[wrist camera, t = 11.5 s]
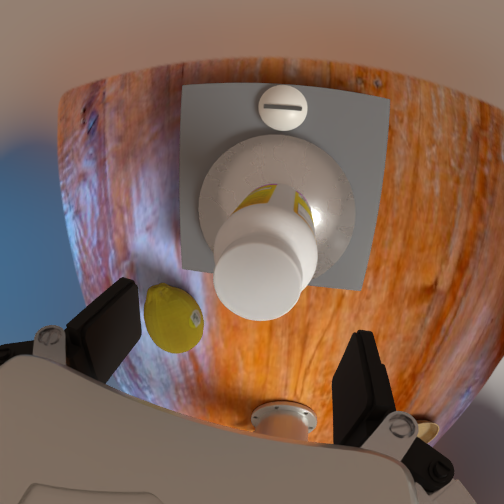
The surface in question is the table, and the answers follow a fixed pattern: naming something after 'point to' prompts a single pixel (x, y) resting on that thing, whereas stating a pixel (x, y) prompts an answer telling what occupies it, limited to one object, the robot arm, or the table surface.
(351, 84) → the table surface
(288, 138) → the scale pan
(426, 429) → the plant saucer
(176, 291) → the lemon
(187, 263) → the kitchen scale
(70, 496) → the robot arm
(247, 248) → the supplement bottle
